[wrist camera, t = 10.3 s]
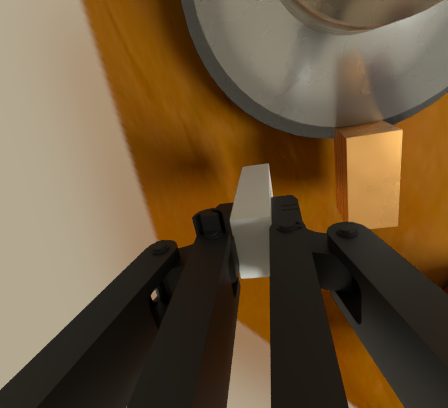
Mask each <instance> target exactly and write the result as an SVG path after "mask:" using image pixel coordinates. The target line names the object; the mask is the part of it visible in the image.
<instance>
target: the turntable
mask: <svg viewBox="0 0 448 408" xmlns="http://www.w3.org/2000/svg"><path fill="white" fill-rule="evenodd" d="M194 4H195V8H196V12H197V16H198V19H199V22H200V24H201V27H202V30H203V32H204V35H205V38H206V40H207V42H208V44H209V46H210V48H211V50H212V51H213V53H214V55H215V57H216V59H217V60H218V62H219V63H220V65H221V66H222V68H223V69H224V70H225V72H226V73H227V75H228V76H229V77H230V78H231V79H232V80H233V81H234V83H235V84H236V85H237V86H238V87H239V88H240V89H241V90H242V91H243V92H244V93H246V94H247V95H248V96H249V97H250V98H251V99H253V100H254V101H255V102H257V103H258V104H260V105H261V106H263V107H265V108H266V109H268V110H269V111H271V112H273V113H276V114H278V115H280V116H282V117H284V118H287V119H290V120H293V121H296V122H300V123H303V124H309V125H315V126H321V127H333V130H334V154H335V178H336V201H337V208H338V210H339V212H340V214H341V216H342V218H343V220H344V222H355V223H359V224H362V225H364V226H365V227H367V228H368V229H374V228H384V227H395V226H398V212H399V191H400V171H401V151H402V131H403V130H402V129H400V128H398V127H396V126H394V125H391V124H389V123H387V122H385V121H383V119H386V118H389V117H392V116H395V115H398V114H400V113H403V112H405V111H407V110H409V109H411V108H413V107H415V106H417V105H419V104H421V103H423V102H425V101H426V100H428V99H429V98H431V97H433V96H434V95H436V94H438V93H439V92H441V91H442V90H444V89H445V88H446V87H448V0H443V1H441V2H440V3H438V4H436V5H434V6H433V7H431V8H429V9H427V10H425V11H423V12H420V13H418V14H416V15H413V16H411V17H409V18H406V19H403V20H400V21H397V22H394V23H391V24H389V25H386V26H383V27H380V28H377V29H374V30H371V31H368V32H364V33H361V34H354V35H331V34H325V33H322V32H318V31H315V30H313V29H311V28H309V27H307V26H305V25H304V24H302V23H301V22H300V21H298V20H297V19H296V18H295V17H294V16H292V15H291V14H290V13H289V12H288V10H287V9H286V8H285V7H284V5H283V4H282V3H281V1H280V0H194Z"/></svg>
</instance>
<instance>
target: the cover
mask: <svg viewBox="0 0 448 408" xmlns="http://www.w3.org/2000/svg"><path fill="white" fill-rule="evenodd" d="M280 1H281V3H282V4H283V5H284V7H285V8H286V9H287V10H288V12H289V13H290V14H291V15H292V16H294V17H295V18H296V19H297V20H298V21H300V22H301V23H302V24H304V25H305V26H307V27H309V28H311V29H313V30H315V31H318V32H322V33H325V34H331V35H354V34H361V33H364V32H368V31H371V30H374V29H377V28H380V27H383V26H386V25H389V24H391V23H394V22H397V21H400V20H403V19H406V18H409V17H411V16H413V15H416V14H418V13H420V12H423V11H425V10H427V9H429V8H431V7H433V6H434V5H436V4H438V3H440V2H441V1H443V0H280Z"/></svg>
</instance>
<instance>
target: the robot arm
mask: <svg viewBox="0 0 448 408" xmlns="http://www.w3.org/2000/svg"><path fill="white" fill-rule="evenodd" d="M192 219H193V223H194V227H195V231H196V235H197V237H196V239H195V242H194V244H192V245H189V246H186V247H182V248H178V246H177V243H176V242H174V241H172V240H161V241H158V242H156V243H154V244H152V245H150V246H149V247H148V248H146V249H145V250H144V251H143V252H142V253H141V254H140V255H139V256H138V257H137V258H136V259H135V260H134V261H133V262H132V263H131V264H130V265H129V266H128V267H127V268H126V269H125V270H123V271H122V273H120V274H119V275H118V276H117V277H116V278H115V279H114V280H113V281H112V282H111V283H110V284H109V285H108V286H107V287H106V288H105V289H104V290H103V291H102V292H101V293H100V294H99V295H98V296H97V297H96V298H95V299H94V300H93V301H92V302H91V303H90V304H89V305H88V306H86V307H85V309H83V310H82V311H81V312H80V313H79V314H78V315H77V316H76V317H75V318H74V319H73V320H72V321H71V322H70V323H69V324H68V325H67V326H66V327H65V328H64V329H63V330H62V331H61V332H60V333H59V334H58V335H57V336H56V337H55V338H53V339H52V340H51V341H50V342H49V343H48V344H47V345H46V346H45V347H44V348H43V349H42V350H41V351H40V352H39V353H38V354H37V355H36V356H35V357H34V358H33V359H32V360H31V361H30V362H29V363H28V364H27V365H26V366H25V367H24V368H23V369H22V370H21V371H19V373H17V375H15V376H14V377H13V379H11V380H10V381H9V382H8V383H7V384H6V385H5V386H4V387H3V388H2V389H1V390H0V408H126V407H127V408H226V407H227V399H228V390H229V382H230V373H231V364H232V356H233V347H234V338H235V329H236V321H237V312H238V304H239V295H240V282H239V277H238V276H239V270H240V275H241V279H243V278H258V277H270V348H271V349H270V350H271V408H349V407H348V403H347V399H346V394H345V390H344V386H343V382H342V378H341V373H340V369H339V365H338V361H337V357H336V352H335V348H334V344H333V340H332V336H331V331H330V327H329V323H328V319H327V315H326V310H325V306H324V302H323V298H322V294H321V289H327V290H330V293H331V296H332V298H333V299H334V301H335V302H336V304H337V305H338V307H339V308H340V310H341V311H342V313H343V314H344V316H345V317H346V319H347V320H348V322H349V323H350V325H351V326H352V328H353V330H354V331H355V333H356V334H357V336H358V337H359V339H360V340H361V342H362V343H363V345H364V346H365V348H366V349H367V351H368V352H369V354H370V355H371V357H372V358H373V360H374V361H375V363H376V365H377V366H378V368H379V369H380V371H381V372H382V374H383V375H384V377H385V378H386V380H387V381H388V383H389V384H390V386H391V387H392V389H393V390H394V392H395V393H396V395H397V396H398V398H399V400H400V401H401V403H402V404H403V406H404V407H405V408H448V294H447V293H446V292H445V291H443V290H442V289H441V288H440V287H438V286H437V285H436V284H435V283H434V282H432V281H431V280H430V279H429V278H428V277H426V276H425V275H424V274H423V273H421V272H420V271H419V270H418V269H417V268H415V267H414V266H413V265H412V264H411V263H409V262H408V261H407V260H406V259H405V258H403V257H402V256H401V255H400V254H398V253H397V252H396V251H395V250H394V249H392V248H391V247H390V246H389V245H388V244H386V243H385V242H384V241H383V240H381V239H380V238H379V237H378V236H377V235H375V234H374V233H373V232H372V231H371V230H369V229H368V228H367V227H365V226H364V225H362V224H359V223H355V222H340V223H336V224H333V225H331V226H330V227H329V228H328V230H327V233H319V232H314V231H311V230H309V229H307V228H306V226H305V224H304V223H303V221H302V217H301V213H300V209H299V205H298V200H297V198H295V197H294V196H293V195H287V196H278V197H273V193H272V185H271V177H270V170H269V163H266V164H259V165H252V166H245V167H242V171H241V175H240V179H239V184H238V188H237V192H236V196H235V200H234V203H225V204H220V205H218V206H217V207H216V208H211V209H206V210H203V211H200V212H198V213H197V214H195V215H194V216H193V217H192ZM320 288H321V289H320ZM154 290H156V293H157V297H156V298H155V299H154V300H152V298H151V294H152V292H153V291H154ZM127 405H128V406H127Z"/></svg>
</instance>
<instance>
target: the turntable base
mask: <svg viewBox="0 0 448 408" xmlns="http://www.w3.org/2000/svg"><path fill="white" fill-rule="evenodd" d="M181 2H182V8H183V12H184V15H185V19H186V23H187V27H188V30H189V33H190V35H191V38H192V40H193V43H194V46H195V48H196V51H197V52H198V54H199V56H200V58H201V60H202V62H203V64H204V66H205V67H206V69H207V71H208V72H209V74H210V75H211V76H212V78H213V79H214V81H215V82H216V84H217V85H218V86H219V87H220V88H221V90H222V91H223V92H224V93H225V94H226V95H227V96H228V97H229V98H230V99H231V100H232V101H233V102H234V103H235V104H236V105H238V106H239V107H240V108H241V109H242V110H243V111H245V112H246V113H248V114H249V115H251V116H252V117H254V118H255V119H257V120H259V121H260V122H262V123H264V124H266V125H269V126H271V127H273V128H275V129H277V130H281V131H284V132H287V133H290V134H294V135H299V136H305V137H311V138H334V130H333V127H321V126H315V125H309V124H303V123H300V122H296V121H293V120H290V119H287V118H284V117H282V116H280V115H278V114H276V113H273V112H271V111H269V110H268V109H266V108H265V107H263V106H261V105H260V104H258V103H257V102H255V101H254V100H253V99H251V98H250V97H249V96H248V95H247V94H246V93H244V92H243V91H242V90H241V89H240V88H239V87H238V86H237V85H236V84H235V83H234V81H233V80H232V79H231V78H230V77H229V76H228V75H227V73H226V72H225V70H224V69H223V68H222V66H221V65H220V63H219V62H218V60H217V59H216V57H215V55H214V53H213V51H212V50H211V48H210V46H209V44H208V42H207V40H206V38H205V35H204V32H203V30H202V27H201V24H200V22H199V19H198V16H197V12H196V8H195V4H194V0H181ZM447 92H448V87H446V88H445V89H444V90H442V91H441V92H439V93H438V94H436V95H434V96H433V97H431V98H429V99H428V100H426V101H425V102H423V103H421V104H419V105H417V106H415V107H413V108H411V109H409V110H407V111H405V112H403V113H400V114H398V115H395V116H392V117H389V118H386V119H383V121H385V122H387V123H389V124H391V125H394V124H396V123H398V122H400V121H402V120H404V119H406V118H409V117H411V116H413V115H414V114H416V113H418V112H419V111H421V110H423V109H424V108H426V107H428V106H429V105H431V104H433V103H434V102H435V101H437V100H438V99H439V98H441V97H442V96H443V95H445V94H446V93H447Z"/></svg>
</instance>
